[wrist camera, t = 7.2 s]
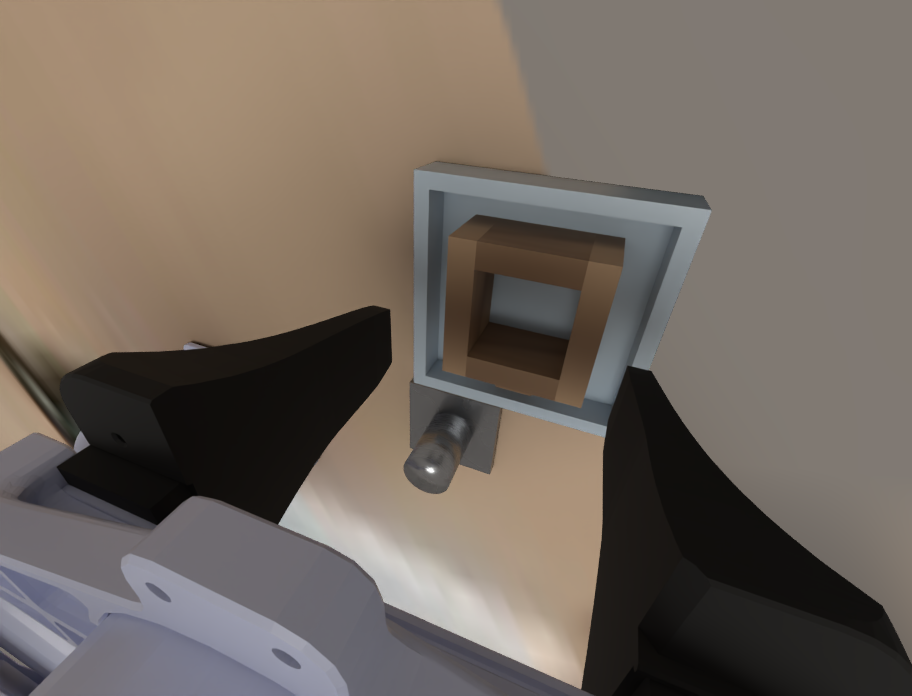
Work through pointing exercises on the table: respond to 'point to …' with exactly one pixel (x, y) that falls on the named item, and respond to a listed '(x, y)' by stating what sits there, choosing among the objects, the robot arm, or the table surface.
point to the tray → (547, 306)
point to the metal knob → (448, 437)
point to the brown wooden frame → (540, 260)
